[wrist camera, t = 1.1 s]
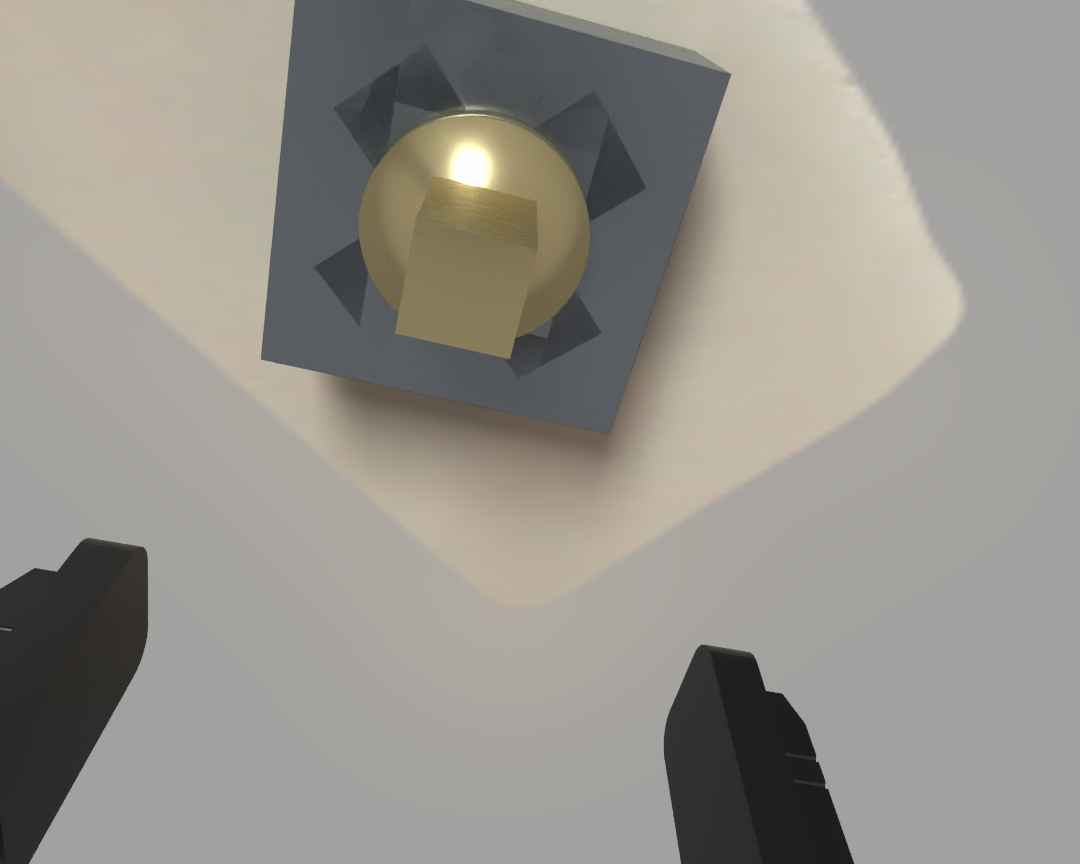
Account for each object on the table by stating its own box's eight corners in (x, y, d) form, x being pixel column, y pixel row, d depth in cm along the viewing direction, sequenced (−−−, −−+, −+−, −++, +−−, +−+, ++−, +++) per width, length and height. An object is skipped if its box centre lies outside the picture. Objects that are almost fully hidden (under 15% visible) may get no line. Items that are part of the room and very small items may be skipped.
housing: (303, 294, 33) (261, 359, 28) (343, -48, 27) (299, -47, 22) (597, 360, 34) (609, 434, 29) (694, 51, 29) (731, 73, 23)
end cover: (369, 266, 30) (311, 382, 22) (400, 66, 27) (346, 117, 19) (553, 308, 31) (561, 435, 23) (605, 120, 28) (636, 191, 20)
